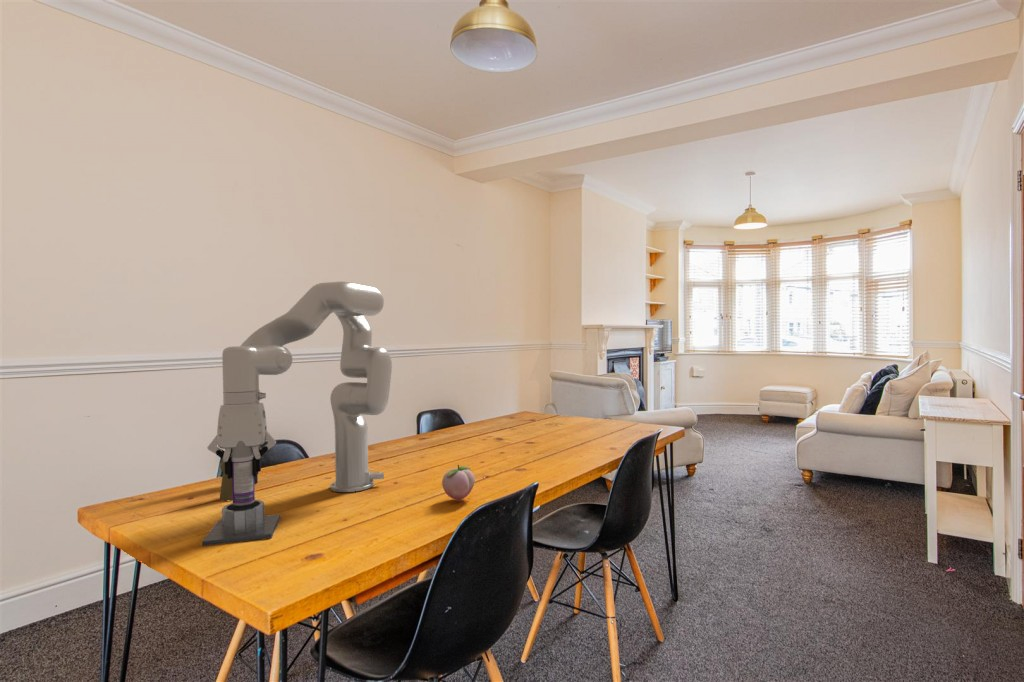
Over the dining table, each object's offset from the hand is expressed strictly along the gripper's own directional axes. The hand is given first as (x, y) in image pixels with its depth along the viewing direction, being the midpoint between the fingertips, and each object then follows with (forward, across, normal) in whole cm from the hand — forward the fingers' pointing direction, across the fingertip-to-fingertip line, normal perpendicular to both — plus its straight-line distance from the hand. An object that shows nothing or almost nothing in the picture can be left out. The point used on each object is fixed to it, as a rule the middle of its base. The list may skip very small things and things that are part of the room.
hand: (243, 475), depth 124 cm
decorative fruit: (+13, -52, -5) cm, 54 cm away
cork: (+13, +8, -30) cm, 34 cm away
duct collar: (+13, 0, 0) cm, 13 cm away
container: (+7, 0, 0) cm, 7 cm away
